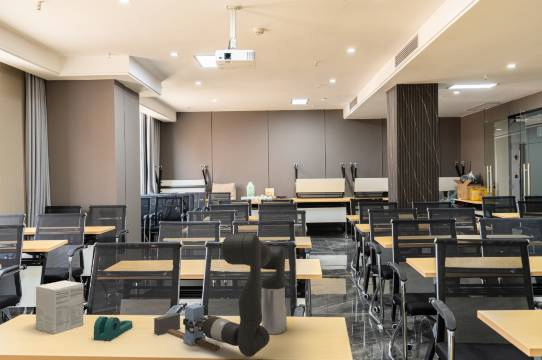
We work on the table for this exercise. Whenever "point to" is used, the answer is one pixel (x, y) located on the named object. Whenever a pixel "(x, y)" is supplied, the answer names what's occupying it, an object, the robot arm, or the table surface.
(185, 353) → the table surface
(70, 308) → the supplement box
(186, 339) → the block
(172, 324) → the stop block
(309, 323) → the table surface
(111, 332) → the bracket
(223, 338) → the robot arm
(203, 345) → the rail
